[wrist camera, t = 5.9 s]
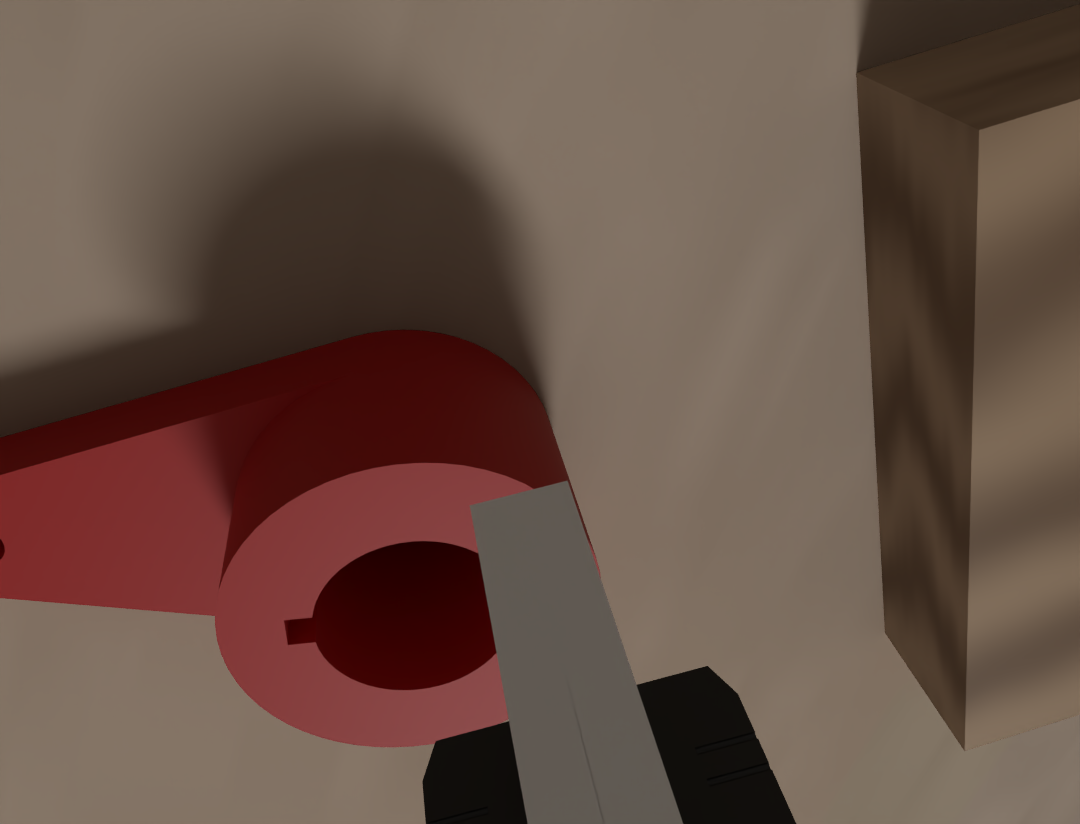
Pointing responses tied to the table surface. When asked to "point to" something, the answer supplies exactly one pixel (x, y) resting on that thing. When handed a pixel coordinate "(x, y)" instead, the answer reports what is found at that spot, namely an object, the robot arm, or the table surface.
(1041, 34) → the walnut base brick
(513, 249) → the table surface
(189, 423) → the lever
